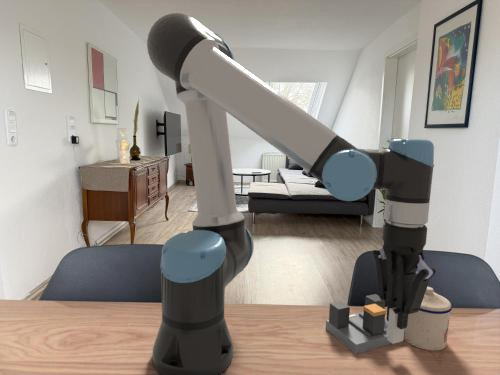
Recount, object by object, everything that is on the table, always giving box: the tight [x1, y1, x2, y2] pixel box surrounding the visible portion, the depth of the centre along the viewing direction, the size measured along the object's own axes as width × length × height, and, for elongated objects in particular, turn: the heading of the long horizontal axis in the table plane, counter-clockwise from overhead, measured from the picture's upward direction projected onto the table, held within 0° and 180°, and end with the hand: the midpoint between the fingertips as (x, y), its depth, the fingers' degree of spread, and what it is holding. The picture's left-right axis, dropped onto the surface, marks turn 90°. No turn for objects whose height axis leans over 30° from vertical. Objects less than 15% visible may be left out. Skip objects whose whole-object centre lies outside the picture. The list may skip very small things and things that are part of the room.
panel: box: [325, 293, 405, 355], centre depth 75 cm, size 13×10×6 cm
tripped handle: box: [363, 304, 387, 336], centre depth 73 cm, size 3×3×5 cm
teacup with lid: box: [404, 286, 453, 352], centre depth 75 cm, size 12×9×12 cm
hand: (395, 340), depth 68 cm, fingers closed
